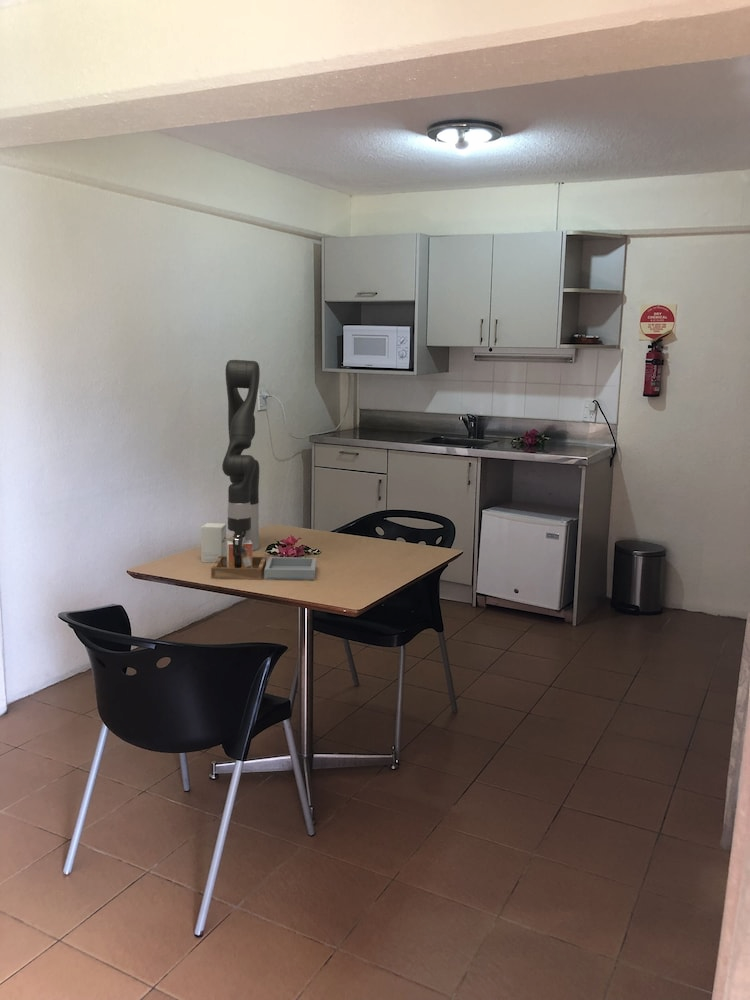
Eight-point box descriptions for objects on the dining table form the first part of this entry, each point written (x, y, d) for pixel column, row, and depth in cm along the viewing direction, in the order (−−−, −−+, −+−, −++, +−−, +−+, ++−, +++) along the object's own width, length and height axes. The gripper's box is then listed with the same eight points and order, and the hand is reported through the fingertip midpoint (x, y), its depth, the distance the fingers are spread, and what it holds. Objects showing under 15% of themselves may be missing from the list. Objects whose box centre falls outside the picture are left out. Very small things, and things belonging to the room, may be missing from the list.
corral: (219, 566, 282) (218, 556, 281) (266, 566, 282) (266, 557, 281) (211, 578, 266) (211, 568, 265) (261, 579, 266) (261, 569, 266)
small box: (228, 575, 270) (227, 544, 268) (226, 571, 275) (226, 540, 274) (252, 574, 272) (252, 543, 270) (250, 570, 278) (250, 539, 276)
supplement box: (221, 563, 285) (221, 527, 283) (200, 562, 286) (200, 526, 284) (226, 558, 293) (226, 523, 290) (206, 557, 293) (205, 522, 291)
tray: (269, 567, 282) (269, 557, 281) (316, 567, 283) (316, 557, 282) (264, 579, 266) (264, 569, 266) (314, 580, 267) (314, 570, 266)
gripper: (230, 511, 277) (231, 559, 280) (224, 519, 263) (224, 570, 266) (253, 511, 278) (253, 559, 281) (248, 520, 263) (248, 570, 266)
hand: (239, 564), depth 273 cm, fingers closed on small box, 6 cm apart
